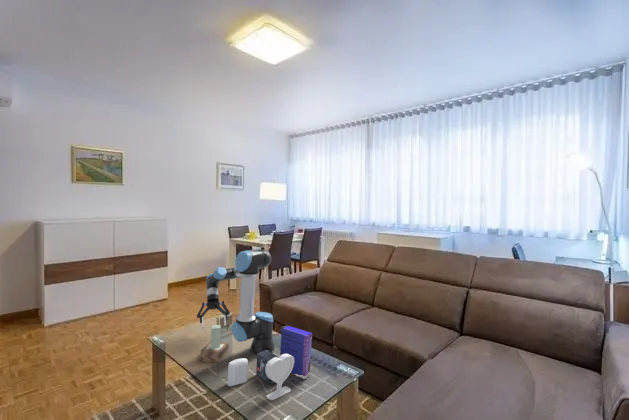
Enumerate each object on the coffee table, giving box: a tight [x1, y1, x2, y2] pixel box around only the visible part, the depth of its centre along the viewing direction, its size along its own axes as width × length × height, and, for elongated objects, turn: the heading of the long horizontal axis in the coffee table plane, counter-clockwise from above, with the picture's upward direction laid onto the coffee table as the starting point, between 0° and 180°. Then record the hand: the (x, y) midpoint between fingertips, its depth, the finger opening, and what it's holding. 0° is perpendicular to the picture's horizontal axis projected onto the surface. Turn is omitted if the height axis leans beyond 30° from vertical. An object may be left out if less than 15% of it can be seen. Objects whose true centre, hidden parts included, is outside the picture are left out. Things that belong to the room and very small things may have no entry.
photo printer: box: [227, 357, 249, 387], centre depth 164 cm, size 10×4×12 cm, turn 123°
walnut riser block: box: [200, 340, 230, 364], centre depth 190 cm, size 12×12×6 cm
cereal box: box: [279, 325, 313, 376], centre depth 176 cm, size 17×5×24 cm, turn 58°
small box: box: [255, 350, 280, 386], centre depth 170 cm, size 13×7×12 cm, turn 45°
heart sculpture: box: [265, 354, 294, 401], centre depth 157 cm, size 16×5×18 cm, turn 135°
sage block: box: [210, 324, 222, 349], centre depth 189 cm, size 5×5×12 cm
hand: (214, 326), depth 199 cm, fingers open, 13 cm apart
